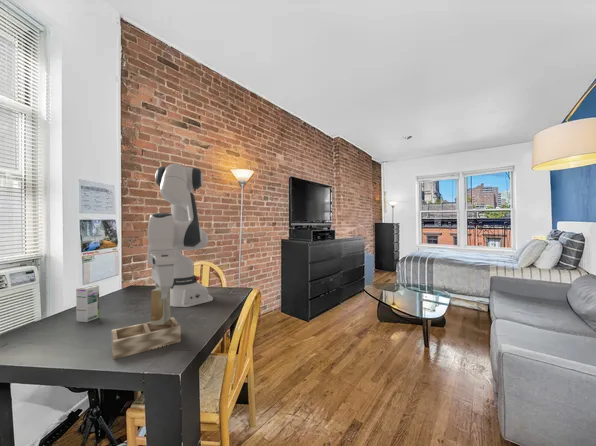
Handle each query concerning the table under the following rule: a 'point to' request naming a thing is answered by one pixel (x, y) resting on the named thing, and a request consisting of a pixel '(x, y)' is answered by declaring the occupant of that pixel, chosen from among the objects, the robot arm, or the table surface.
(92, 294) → the syrup box
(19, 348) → the table surface
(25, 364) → the table surface
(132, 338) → the slot rack
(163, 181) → the robot arm
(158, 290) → the skincare box
